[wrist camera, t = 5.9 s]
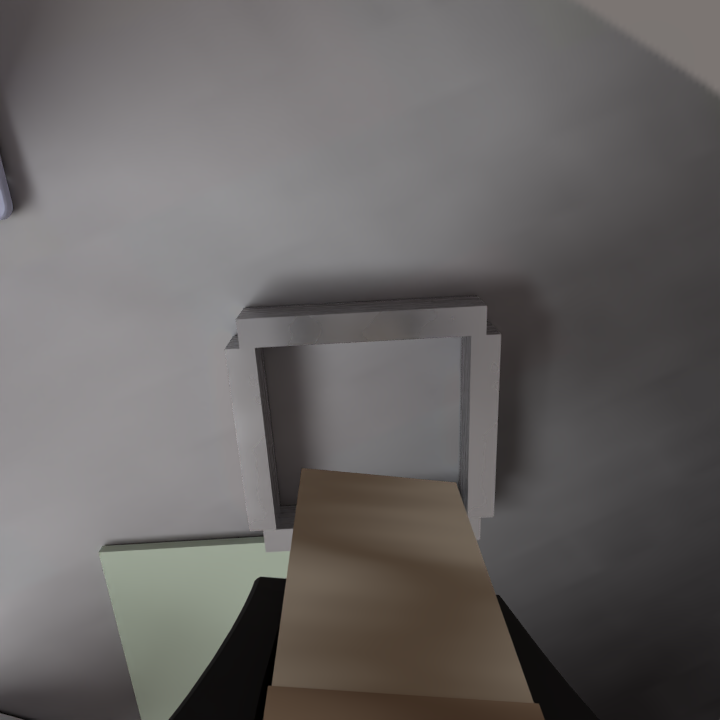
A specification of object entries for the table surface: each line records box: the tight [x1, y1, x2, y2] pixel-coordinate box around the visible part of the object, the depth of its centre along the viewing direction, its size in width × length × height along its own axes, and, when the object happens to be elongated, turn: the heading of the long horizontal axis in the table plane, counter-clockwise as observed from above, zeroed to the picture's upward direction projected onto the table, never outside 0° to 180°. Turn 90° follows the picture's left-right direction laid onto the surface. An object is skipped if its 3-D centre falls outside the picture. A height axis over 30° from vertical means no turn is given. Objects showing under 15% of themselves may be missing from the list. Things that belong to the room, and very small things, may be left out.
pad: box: [99, 536, 290, 720], centre depth 24 cm, size 10×10×1 cm
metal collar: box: [224, 296, 501, 552], centre depth 20 cm, size 9×9×2 cm
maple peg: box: [263, 468, 545, 720], centre depth 11 cm, size 4×4×7 cm
